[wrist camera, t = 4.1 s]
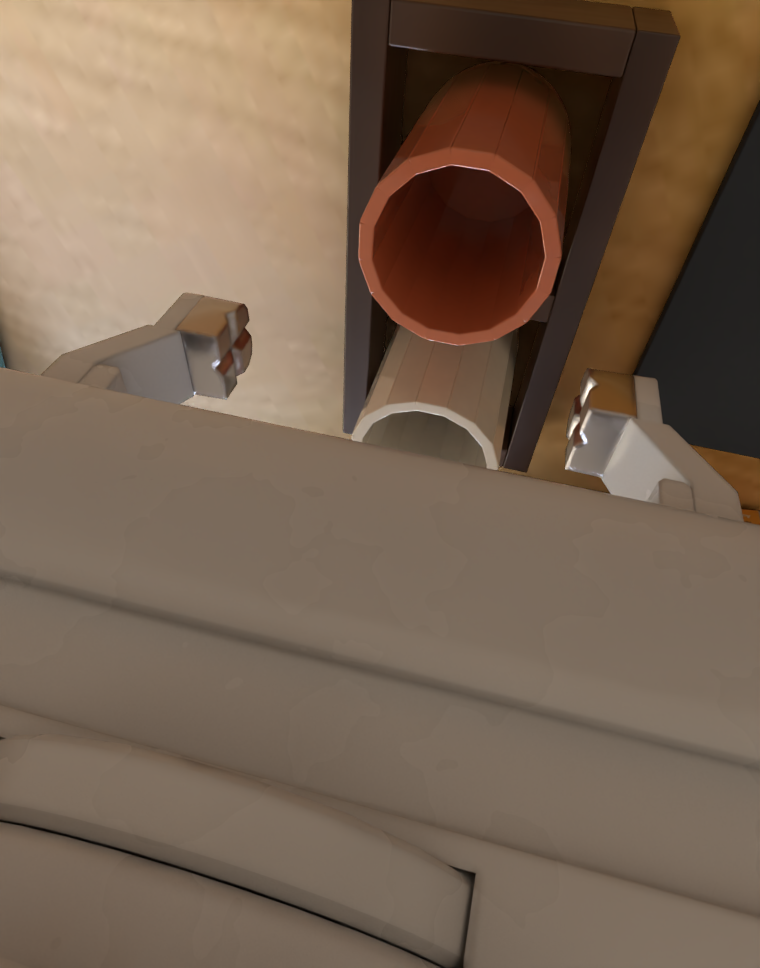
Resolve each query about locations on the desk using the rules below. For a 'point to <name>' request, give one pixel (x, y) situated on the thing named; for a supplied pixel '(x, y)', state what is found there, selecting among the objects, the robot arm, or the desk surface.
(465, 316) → the terracotta tumbler
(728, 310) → the slate mat
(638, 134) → the cup holder
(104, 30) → the desk surface
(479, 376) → the cream tumbler
